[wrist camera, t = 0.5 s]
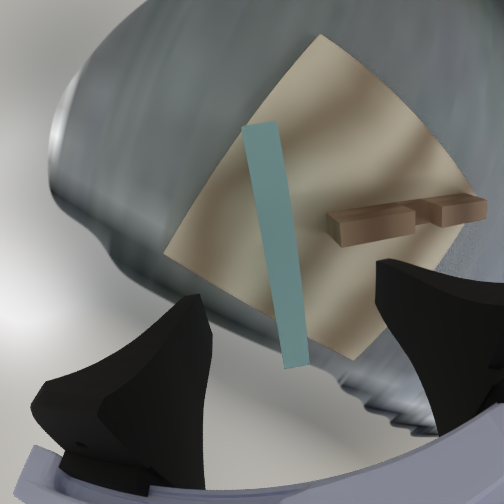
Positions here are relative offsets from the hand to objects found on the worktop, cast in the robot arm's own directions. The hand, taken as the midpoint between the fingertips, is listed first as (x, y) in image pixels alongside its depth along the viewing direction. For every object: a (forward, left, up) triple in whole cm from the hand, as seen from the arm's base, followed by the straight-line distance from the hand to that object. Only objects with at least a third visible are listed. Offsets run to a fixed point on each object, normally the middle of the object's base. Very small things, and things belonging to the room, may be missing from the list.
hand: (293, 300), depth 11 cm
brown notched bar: (-8, -8, -10) cm, 15 cm away
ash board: (-4, -4, -10) cm, 12 cm away
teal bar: (0, 0, -9) cm, 9 cm away
